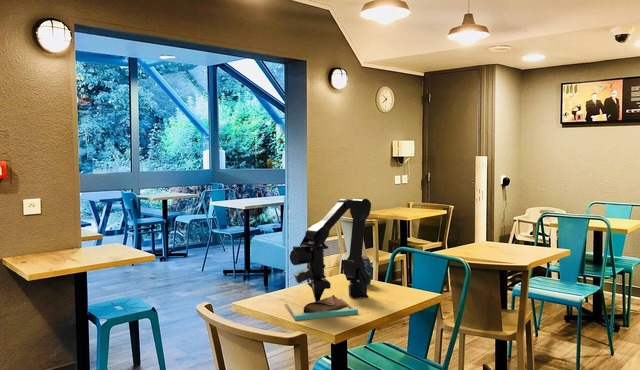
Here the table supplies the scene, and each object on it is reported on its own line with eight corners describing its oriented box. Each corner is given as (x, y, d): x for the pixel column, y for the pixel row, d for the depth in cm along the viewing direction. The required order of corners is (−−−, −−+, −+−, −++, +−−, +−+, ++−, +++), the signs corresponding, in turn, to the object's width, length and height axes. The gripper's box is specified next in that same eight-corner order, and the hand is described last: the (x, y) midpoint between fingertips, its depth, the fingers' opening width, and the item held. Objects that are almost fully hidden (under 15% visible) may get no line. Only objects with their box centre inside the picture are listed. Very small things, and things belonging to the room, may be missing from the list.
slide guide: (342, 299, 211) (341, 295, 211) (358, 313, 191) (358, 309, 191) (284, 305, 206) (284, 301, 206) (295, 320, 186) (295, 316, 186)
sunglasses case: (321, 317, 189) (313, 299, 191) (308, 324, 193) (300, 307, 195) (350, 305, 203) (343, 289, 205) (338, 312, 207) (330, 296, 209)
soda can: (370, 286, 230) (369, 259, 230) (354, 286, 232) (353, 259, 231) (371, 283, 237) (371, 256, 236) (356, 282, 238) (355, 256, 238)
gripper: (290, 258, 208) (291, 298, 209) (300, 268, 190) (301, 311, 191) (318, 256, 211) (319, 295, 212) (330, 265, 193) (331, 308, 194)
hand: (317, 302), depth 202 cm, fingers closed
